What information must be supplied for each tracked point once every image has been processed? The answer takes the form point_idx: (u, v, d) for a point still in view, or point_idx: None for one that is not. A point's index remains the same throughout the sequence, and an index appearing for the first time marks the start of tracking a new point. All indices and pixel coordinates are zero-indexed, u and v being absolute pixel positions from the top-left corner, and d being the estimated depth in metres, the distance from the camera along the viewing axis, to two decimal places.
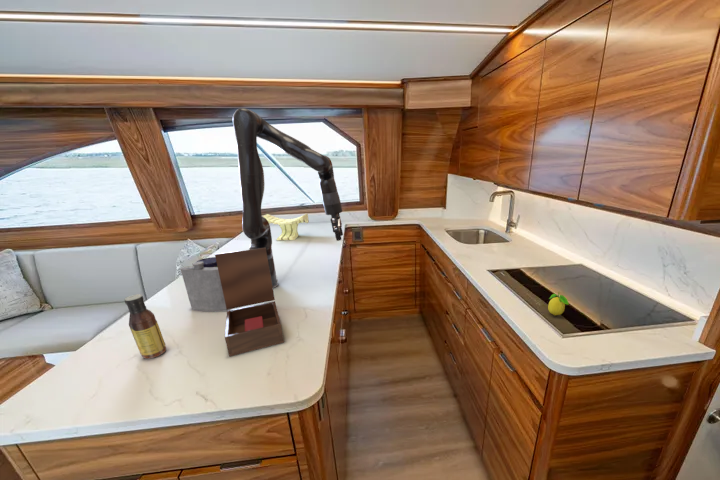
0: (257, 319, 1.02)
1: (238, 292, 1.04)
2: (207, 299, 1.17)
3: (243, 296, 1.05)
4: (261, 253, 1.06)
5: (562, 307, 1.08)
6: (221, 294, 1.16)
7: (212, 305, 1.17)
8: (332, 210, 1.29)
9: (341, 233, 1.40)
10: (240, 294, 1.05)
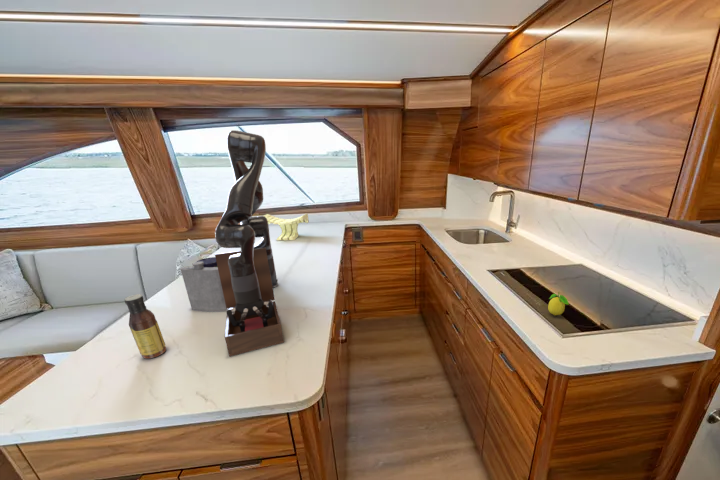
0: (257, 319, 1.02)
1: None
2: (207, 299, 1.17)
3: None
4: (261, 253, 1.06)
5: (562, 307, 1.08)
6: (221, 294, 1.16)
7: (212, 305, 1.17)
8: None
9: None
10: None
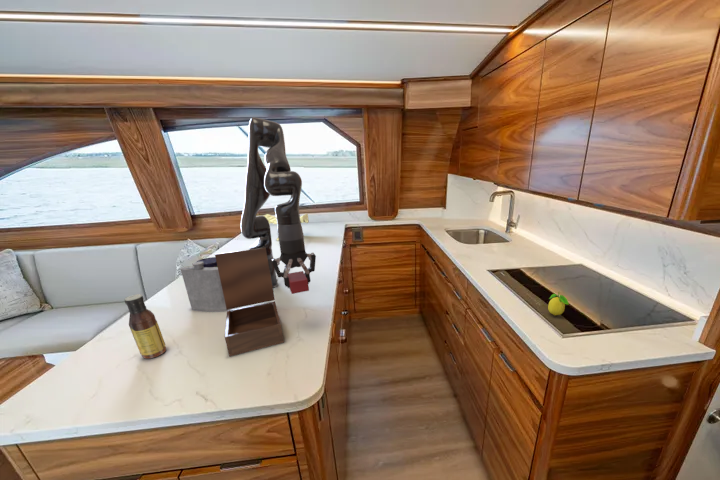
0: (299, 273, 1.02)
1: (238, 292, 1.04)
2: (207, 299, 1.17)
3: (243, 296, 1.05)
4: (261, 253, 1.06)
5: (562, 307, 1.08)
6: (221, 294, 1.16)
7: (212, 305, 1.17)
8: None
9: None
10: (240, 294, 1.05)
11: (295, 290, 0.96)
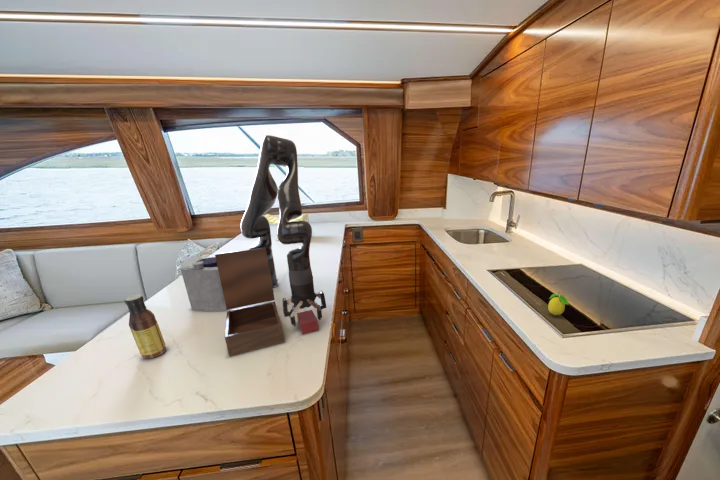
0: (308, 312, 1.08)
1: (238, 292, 1.04)
2: (207, 299, 1.17)
3: (243, 296, 1.05)
4: (261, 253, 1.06)
5: (562, 307, 1.08)
6: (221, 294, 1.16)
7: (212, 305, 1.17)
8: None
9: (318, 317, 1.07)
10: (240, 294, 1.05)
11: (306, 330, 1.02)
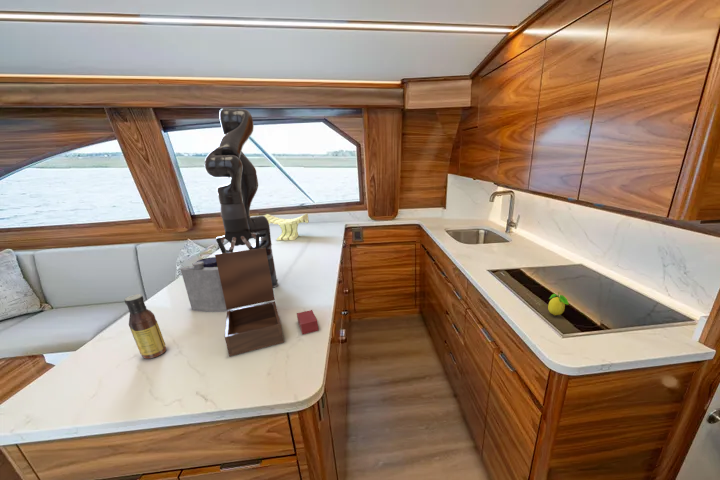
0: (308, 313, 1.08)
1: (238, 292, 1.04)
2: (207, 299, 1.17)
3: (243, 296, 1.05)
4: (261, 253, 1.06)
5: (562, 307, 1.08)
6: (221, 294, 1.16)
7: (212, 305, 1.17)
8: None
9: None
10: (240, 294, 1.05)
11: (306, 331, 1.02)
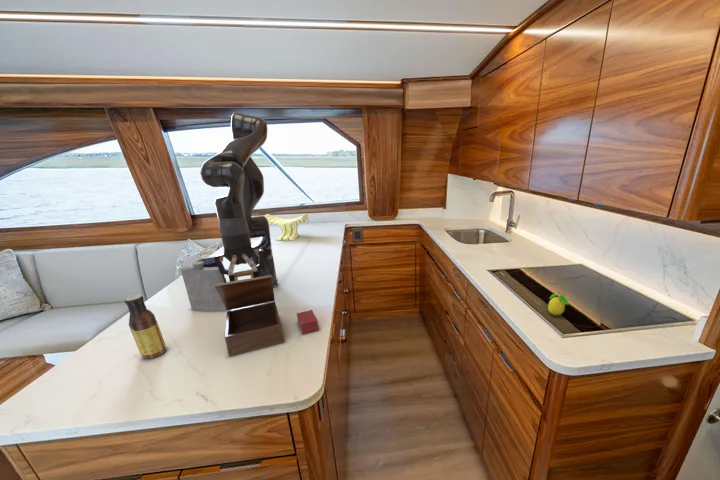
0: (308, 312, 1.08)
1: (239, 301, 1.01)
2: (207, 299, 1.17)
3: (244, 303, 1.03)
4: (266, 280, 0.95)
5: (562, 307, 1.08)
6: None
7: (212, 305, 1.17)
8: None
9: None
10: (241, 302, 1.02)
11: (306, 331, 1.02)
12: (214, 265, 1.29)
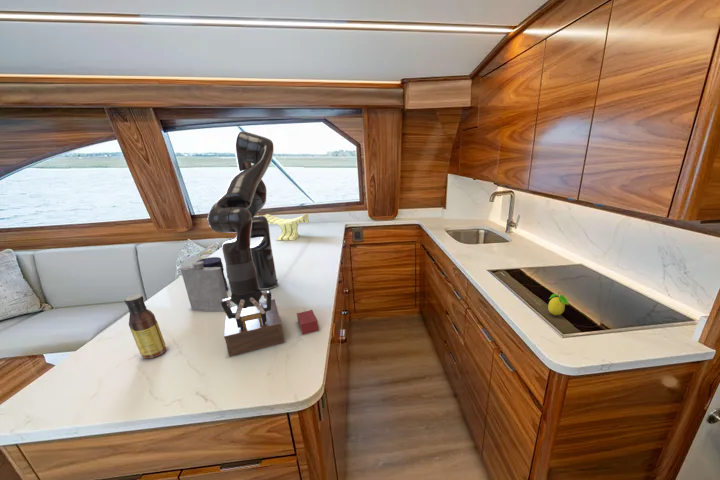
0: (308, 312, 1.08)
1: None
2: (207, 299, 1.17)
3: None
4: None
5: (562, 307, 1.08)
6: (221, 294, 1.16)
7: (212, 305, 1.17)
8: None
9: (262, 321, 0.93)
10: None
11: (306, 331, 1.02)
12: (214, 265, 1.29)
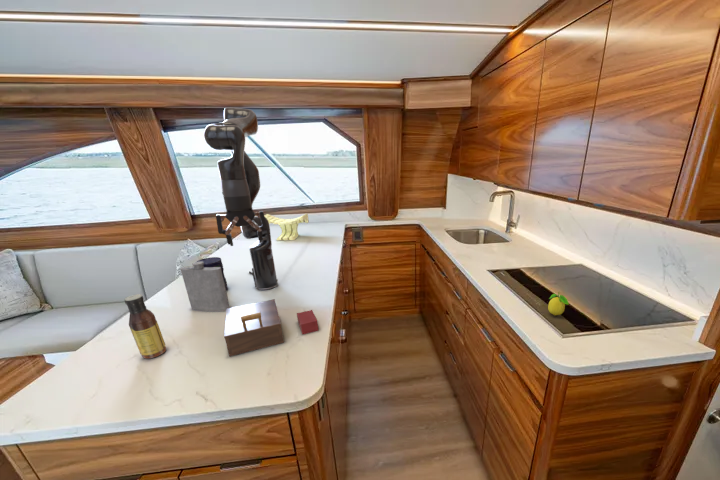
0: (308, 313, 1.08)
1: None
2: (207, 299, 1.17)
3: None
4: None
5: (562, 307, 1.08)
6: (221, 294, 1.16)
7: (212, 305, 1.17)
8: (225, 204, 0.93)
9: None
10: None
11: (306, 331, 1.02)
12: (214, 265, 1.29)
